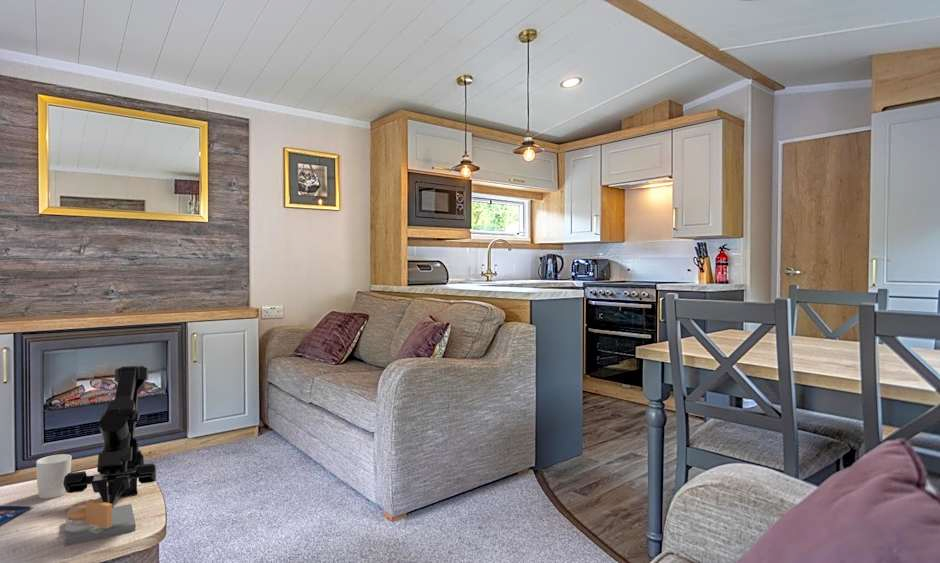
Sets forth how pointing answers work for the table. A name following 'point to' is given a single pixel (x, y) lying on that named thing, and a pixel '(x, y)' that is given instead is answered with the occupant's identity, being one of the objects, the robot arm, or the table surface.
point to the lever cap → (93, 513)
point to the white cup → (52, 475)
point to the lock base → (85, 532)
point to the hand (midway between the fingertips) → (107, 512)
